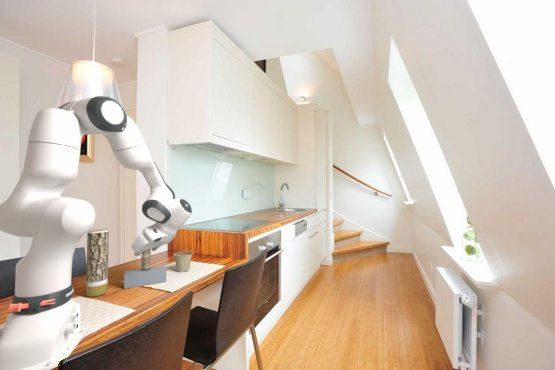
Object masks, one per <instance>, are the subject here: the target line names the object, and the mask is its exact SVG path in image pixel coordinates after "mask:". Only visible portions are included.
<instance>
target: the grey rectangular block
mask: <svg viewBox="0 0 555 370" xmlns="http://www.w3.org/2000/svg"><path fill="white" fill-rule="evenodd" d="M123 276H124V277H123V278H124V279H123V280H124V281H123V282H124V283H123V289H125V290H126V289H132V288H139V287H145V286H150V285H151V286H152V285H157V284H163V283H166V282H167V266H166V265H159V266H154V267H153V266H152V267H151V269H150V270H148V271H141V268H139V269H133V270H125V271H124V275H123Z"/></svg>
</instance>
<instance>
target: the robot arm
mask: <svg viewBox="0 0 555 370" xmlns="http://www.w3.org/2000/svg"><path fill="white" fill-rule="evenodd" d="M86 135H87V136H88V135H89V136H90V135H102V136H104V137H105V139H106V140H107V141H108V143H109V146H110V148H111V151H112V153H113V155H114V156H115V158H116V160H117V162H119V164H120V165H121V166H122V167H124V168H125V169H128V170H134V171H135V170H136V171H139V172H140V173H141V174H142V176H143V177H144V180H145V181H146V184H147V185H148V186H149V189H150V190H149V195H148V196H147V198H146V199H145V201H144V202H143V203H142V206H141V212H142V214H143V216H145V218H147V219H149V220H151V221H153V222H154V223H153V224H152V225H150V226H146V227H145V228H143V229H142V232H141V234H139V235H138V236H137V237H136V238H135V240H134V241H133V242H132V244H131V248H132V250H133V251H134V252H133V255H134V256H135V257H138V256H140V255H141V251H144V250H148V249H151V250H152V251H151V252H155V251H157V249H159V248H160V247H162V246H164V245H167V244H168V245H169V244H170V243H171V242H172V241H173V240H174V239H175V237H176V235H177V233H178V230H179V229H180V228H182V227H183V226H184V225H185V224H186V222H187V221H188V220H189V219H190V217H191V215H192V214H193V213H192V212H193V210H192V206H191V204H190V203H189V201H187V200H185V199H184V198H180V199H176V194H175V192H174V190H173V189H172V188H171V187H170V186H169V185H168V184H167V182H166V181H165V180H164V177H163V175H162V174H161V172H160V169H159V168H158V166H157V164H156V162H155V161H154V159H153V156H152V155H151V152H150V150H149V147H148V145H147V143H146V141H145V139H144V136H143V134H142V133H141V131H140V129H139V127H138V125H137V124H136V123H135V121H134V119H133V118H131V117H130V116H129V115H127V113H126V112H125V109H124V108H123V106H122V105H121V104H120V103H119V101H117V100H116V99H114V98H112V97H110V96H102V95H97V96H94V97H87V98H86V97H85V98H84V97H83V98H80V99H79V98H78V99H75V100H73V101H69V102H66V103H64V104H62V105H61V106H59V108H58V107H47V108H43V109H40V110H39V111H38V112H37V113H36V115H35V117H34V119H33V122H32V124H31V127H30V131H29V134H28V138H27V145H26V152H25V157H24V158H25V159H24V163H23V168H22V172H21V175H20V178H19V179H18V181H17V184H16V185H15V187H14V189H13V191H11V194H10V195H9V197H7V198H6V200H5V201H3V202H2V203H0V231H1V232H3V233H5V234H6V233H7V234H8V235H11V236H16V237H23V238H32V241H31V244H30V247H29V250H28V252H27V254H26V255H24V256H23V257H21V258H20V259H19V261H18V262H17V263H16V265H15V280H14V281H15V282H14V287H15V288H14V294H13V295H12V299H11V302H10V304H9V306H8V310H7V313H8V314H7V316H6V321H5V323H4V327H3V328H2V329H3V330H2V332H1V335H0V370H54V369H55V368H57V367H59V366H58V364H59V362H60V361H61V360H63V359H65V358H67V357H68V358H69V357H70V356H71V354H72V353H73V351H74V350H75V349H76V347H77V346H78V345H79V343H81V341H82V340H83V339H84V338H85V336H86V335H87V333H88V327H87V326H81V310H80V309H81V307H80V305H81V304H80V303H78V301H76V300H74V298H73V297H74V291H75V290H74V289H75V288H74V283H73V282H72V274H73V273H72V272H73V271H72V269H73V258H74V253H75V251H76V247H77V246H78V244H79V241H80V240H81V239H82V237H83V236H84V235H85V234H86V233H87V232H88V231H89V230H92V228H93V226H94V225H95V221H96V211H95V208H94V206H93V205H92V204H91V202H89V201H86V200H83V199H80V198H75V197H71V196H62V194H63V192H64V191H65V189H66V188H67V186H68V185H69V184H71V183H72V182H73V181H75V179H76V178H77V177H78V173H79V167H80V166H79V165H80V157H81V156H80V155H81V146H82V138H83V137H84V136H86ZM68 358H67V359H68Z"/></svg>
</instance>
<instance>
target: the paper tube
mask: <svg viewBox="0 0 555 370" xmlns="http://www.w3.org/2000/svg"><path fill="white" fill-rule="evenodd" d="M109 232H110V231H109V229H107V228H97V229H90V230H89V231H88V232H87V235H86V237H87V239H86V243H87V245H86V286H85V287H86V296H87V297H90V298H95V297H100V296H102V295H105V294H106V293H107V292H108V290H109V289H108V288H109V286H108V285H109V284H108V283H109V281H108V280H109V236H110V235H109Z"/></svg>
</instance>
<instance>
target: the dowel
mask: <svg viewBox="0 0 555 370" xmlns="http://www.w3.org/2000/svg"><path fill="white" fill-rule="evenodd" d="M151 250H152V249H148V250H144V251H141V254H140V255H141V258H140V260H141V261H140V263H141V264H140V266H141V267H140V269H141V271H148V270H150V269H151V268H152V267H151V266H152V265H151V260H152V259H151V257H152V256H151V255H152V254H151V253H152V251H151Z"/></svg>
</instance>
